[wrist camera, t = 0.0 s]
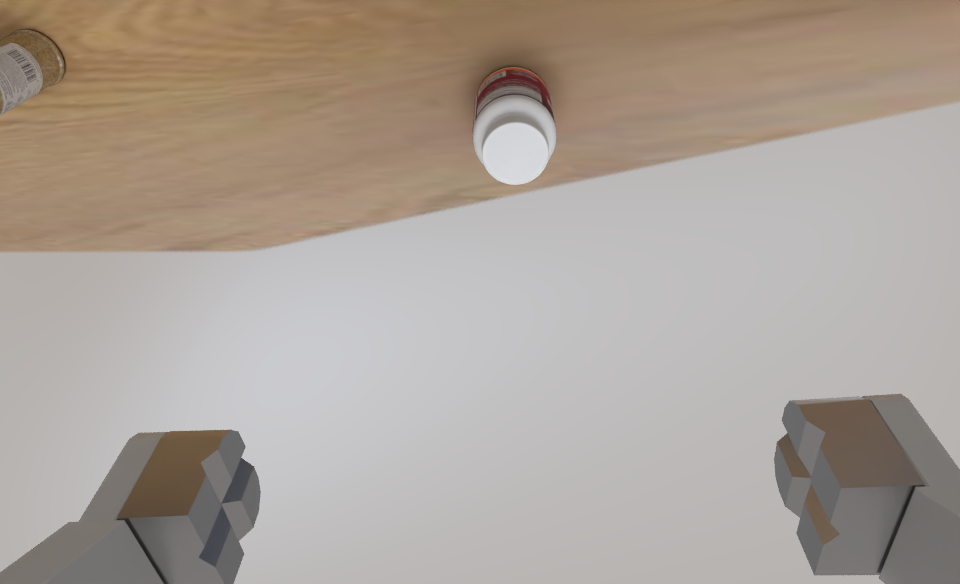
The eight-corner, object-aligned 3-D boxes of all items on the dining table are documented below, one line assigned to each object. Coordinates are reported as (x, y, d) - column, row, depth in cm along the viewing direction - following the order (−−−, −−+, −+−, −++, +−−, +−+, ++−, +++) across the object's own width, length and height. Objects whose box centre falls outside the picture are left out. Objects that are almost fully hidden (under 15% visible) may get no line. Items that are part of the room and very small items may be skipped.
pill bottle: (539, 144, 58) (546, 204, 49) (468, 129, 58) (462, 186, 48) (559, 73, 55) (571, 123, 46) (484, 56, 54) (481, 103, 45)
